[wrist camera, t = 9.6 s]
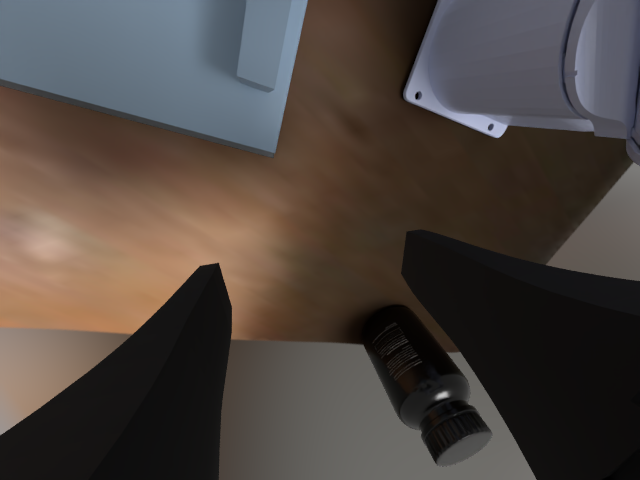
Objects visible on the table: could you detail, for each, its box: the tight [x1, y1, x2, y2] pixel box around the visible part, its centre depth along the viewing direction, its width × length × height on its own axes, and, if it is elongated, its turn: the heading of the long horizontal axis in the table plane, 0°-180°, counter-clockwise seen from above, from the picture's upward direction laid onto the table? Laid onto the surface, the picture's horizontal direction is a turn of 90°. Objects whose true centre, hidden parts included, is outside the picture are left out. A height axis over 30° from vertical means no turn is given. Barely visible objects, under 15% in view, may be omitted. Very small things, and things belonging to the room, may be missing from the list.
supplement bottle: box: [362, 307, 492, 467], centre depth 24 cm, size 7×7×12 cm
